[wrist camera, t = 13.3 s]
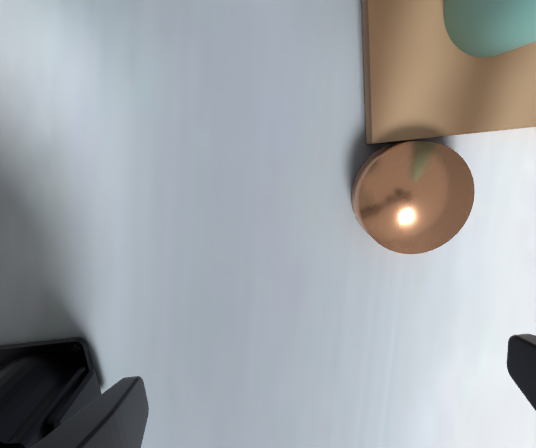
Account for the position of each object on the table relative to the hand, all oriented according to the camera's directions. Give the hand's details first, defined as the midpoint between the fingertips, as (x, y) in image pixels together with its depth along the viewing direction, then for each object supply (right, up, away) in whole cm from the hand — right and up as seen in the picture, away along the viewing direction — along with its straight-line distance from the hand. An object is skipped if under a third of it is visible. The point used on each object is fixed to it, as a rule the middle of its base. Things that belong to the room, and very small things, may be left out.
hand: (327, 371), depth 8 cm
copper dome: (+6, +5, +11) cm, 14 cm away
